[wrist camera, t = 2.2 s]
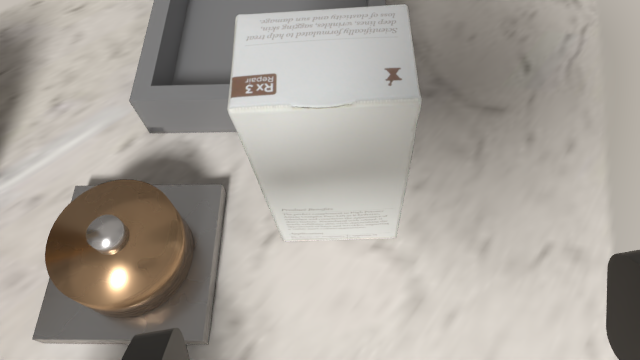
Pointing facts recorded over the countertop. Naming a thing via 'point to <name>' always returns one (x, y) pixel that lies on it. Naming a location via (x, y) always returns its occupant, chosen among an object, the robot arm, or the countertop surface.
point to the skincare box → (328, 117)
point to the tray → (199, 60)
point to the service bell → (132, 263)
